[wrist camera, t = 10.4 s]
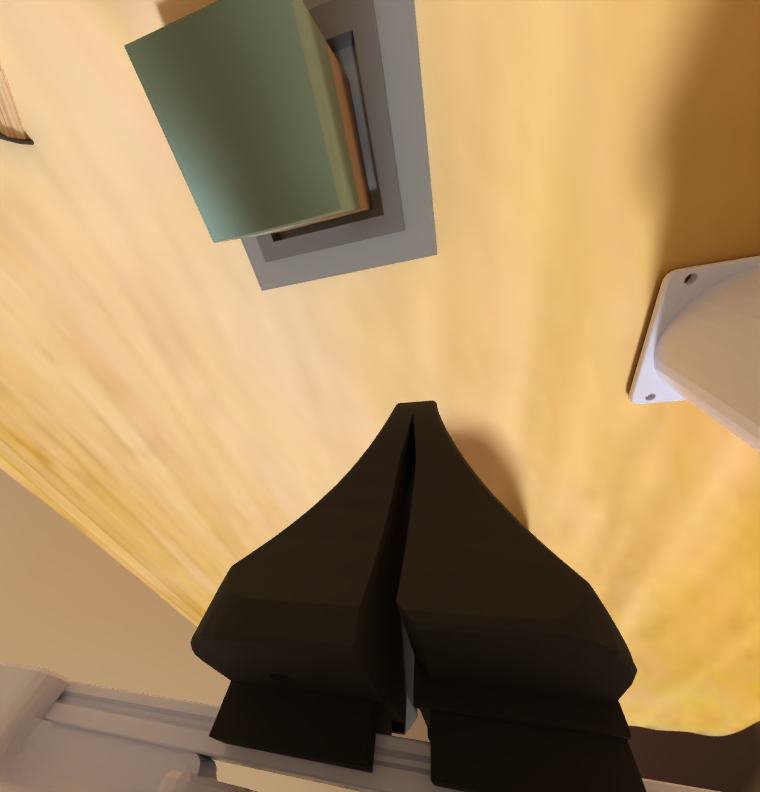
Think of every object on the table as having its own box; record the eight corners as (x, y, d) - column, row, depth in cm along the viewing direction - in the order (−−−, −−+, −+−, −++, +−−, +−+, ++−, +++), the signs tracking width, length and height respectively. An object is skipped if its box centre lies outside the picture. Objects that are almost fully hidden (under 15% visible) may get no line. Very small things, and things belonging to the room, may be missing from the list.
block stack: (348, 80, 11) (284, -31, 6) (373, 209, 14) (340, 209, 8) (252, 114, 12) (123, 45, 7) (289, 230, 15) (213, 242, 9)
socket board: (408, -55, 10) (404, -111, 8) (436, 251, 15) (438, 257, 14) (179, 47, 12) (136, 20, 11) (271, 286, 18) (253, 295, 16)
